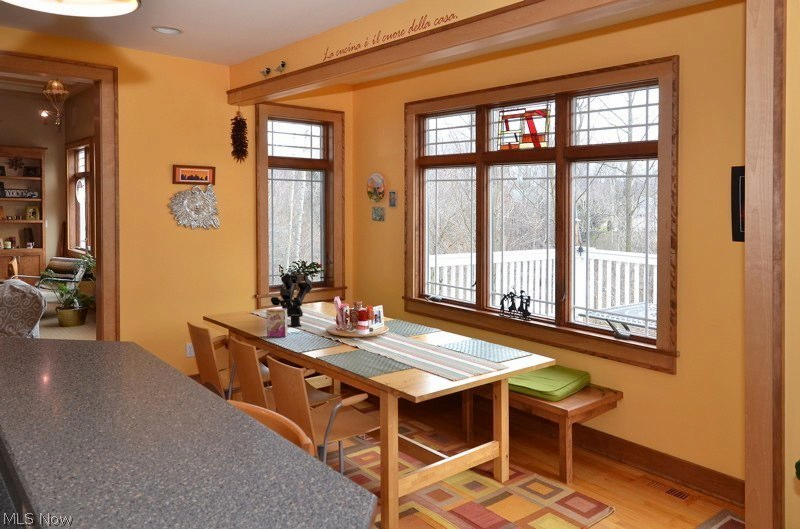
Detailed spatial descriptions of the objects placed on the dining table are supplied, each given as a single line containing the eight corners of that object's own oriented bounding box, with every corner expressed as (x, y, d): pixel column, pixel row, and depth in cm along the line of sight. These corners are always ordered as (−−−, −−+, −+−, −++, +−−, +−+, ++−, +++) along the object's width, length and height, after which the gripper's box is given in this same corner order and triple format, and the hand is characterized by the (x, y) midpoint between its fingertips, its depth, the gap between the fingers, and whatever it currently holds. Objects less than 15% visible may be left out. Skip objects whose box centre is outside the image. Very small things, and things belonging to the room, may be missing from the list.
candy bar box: (267, 337, 377) (265, 309, 375) (269, 335, 382) (268, 308, 380) (285, 337, 376) (284, 309, 374) (288, 335, 381) (287, 308, 379)
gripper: (271, 283, 392) (264, 305, 383) (300, 284, 389) (294, 305, 379) (276, 294, 401) (270, 315, 392) (304, 294, 397) (299, 316, 388)
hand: (283, 312), depth 387 cm, fingers closed
